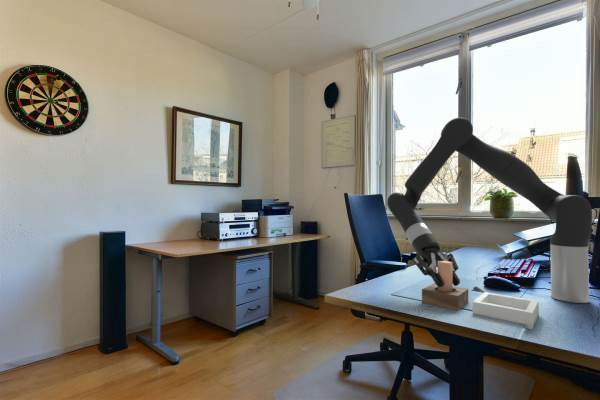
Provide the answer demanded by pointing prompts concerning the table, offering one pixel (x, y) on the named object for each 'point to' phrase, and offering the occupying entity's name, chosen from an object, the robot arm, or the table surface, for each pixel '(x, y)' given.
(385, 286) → the table surface
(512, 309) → the tray
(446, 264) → the tan rectangular block
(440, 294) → the socket block
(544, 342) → the table surface
